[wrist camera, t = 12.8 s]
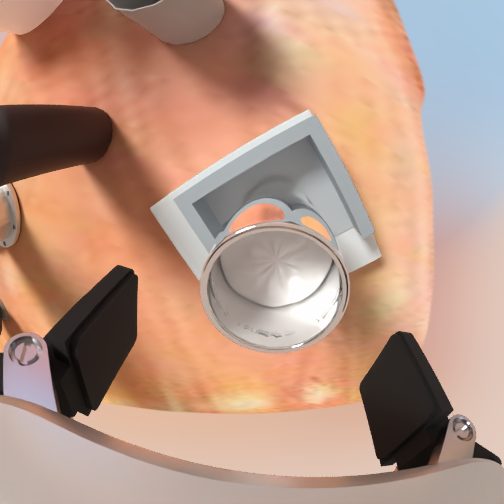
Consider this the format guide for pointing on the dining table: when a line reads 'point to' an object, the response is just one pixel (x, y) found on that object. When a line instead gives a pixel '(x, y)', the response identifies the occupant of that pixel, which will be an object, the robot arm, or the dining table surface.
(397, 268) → the dining table surface
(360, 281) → the dining table surface
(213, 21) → the cup
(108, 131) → the bottle
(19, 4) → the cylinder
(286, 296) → the beer glass
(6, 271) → the dining table surface
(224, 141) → the dining table surface
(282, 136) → the dock
